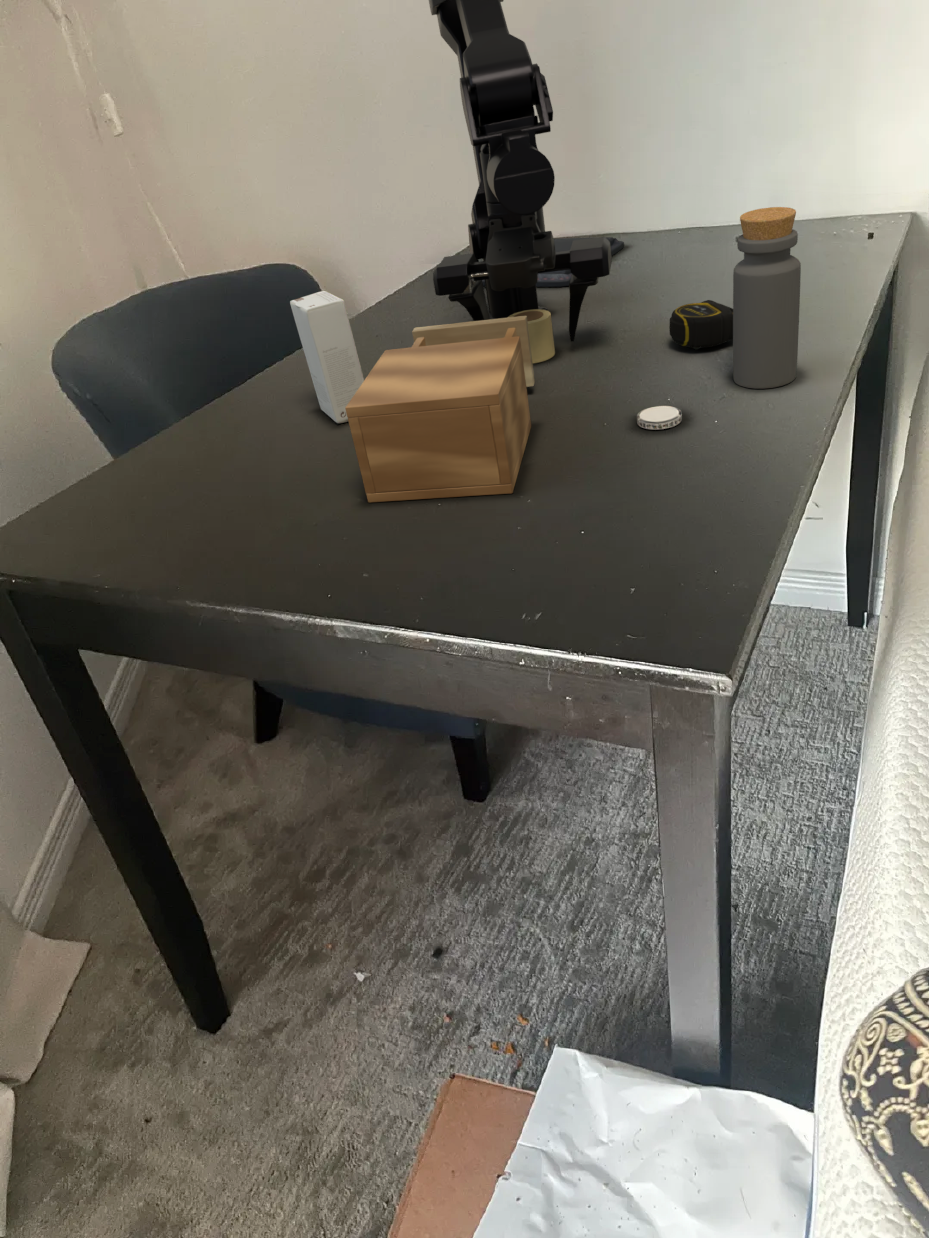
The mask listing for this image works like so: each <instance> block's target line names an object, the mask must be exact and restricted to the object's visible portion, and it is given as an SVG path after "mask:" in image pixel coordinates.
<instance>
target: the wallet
mask: <svg viewBox="0 0 929 1238" xmlns="http://www.w3.org/2000/svg"><path fill="white" fill-rule="evenodd" d="M598 237H599V236H598ZM598 237H597V236H596V237H594V236H593V237H592V238H598ZM604 237H605V238H606V239H607V240H608V241H609V242H610V246H611V257H613V256H614V255H616V254H617V253H618V252H620V251H621V250H622V249H623V248H624V247H625V242H624V241H622V240H619V239H618V238H616V237H613V236H604ZM590 238H591V237H565V238H563V237H562V238H553V239H554V244H555V252H562V251H570V249H571V246H572V242H573V241H574V240H582V239H590ZM571 276H572V273H571V269H570V270H562V271H553V272H545V273H538V281H537V283H536V288H563V287H569V283H570V280H571ZM482 283H483V287H485V280H482Z"/></svg>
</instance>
